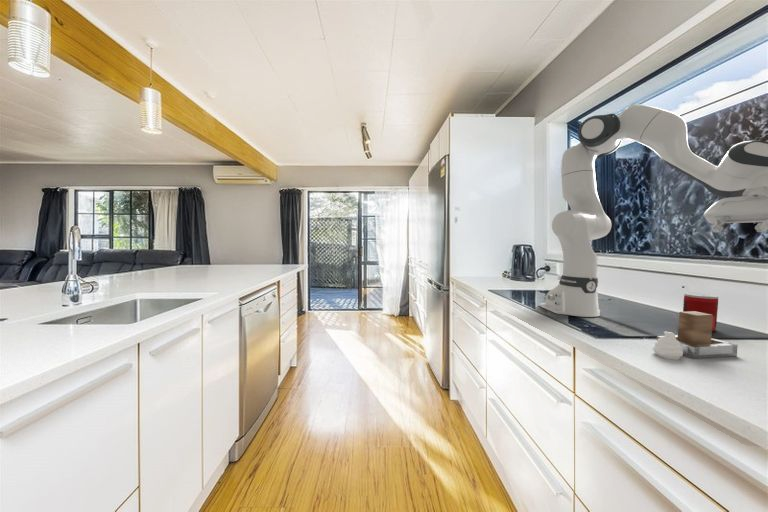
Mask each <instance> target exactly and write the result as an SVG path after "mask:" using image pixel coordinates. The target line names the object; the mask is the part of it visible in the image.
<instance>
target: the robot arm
mask: <svg viewBox="0 0 768 512" xmlns="http://www.w3.org/2000/svg"><path fill="white" fill-rule="evenodd" d="M687 125H688V124H687V123H686V120H685V119H684V117H682V116H680V115H679V114H677V113H675V112H673V111H669V110H666V109H663V108H659V107H656V106H650V105H645V104H639V103H638V104H637V103H636V104H632V105H631V104H630V105H628V106H627V107H625V108H624V109H622V111H621V112H620V114H619V115H616V114H615V113H609V114H597V115H593V116H590V117H587V118H585V120H583V121H582V122H581V124H580V125H579V127H578V130H577V137H578V140H579V143H578V144H576V145H574V146H573V145H572V146H571V147H568V148H567V149H566V150H564V151H563V154H562V159H561V165H560V166H561V167H560V169H561V170H560V171H561V175H560V176H561V188H562V189H561V190H562V197H563V199H564V201H565V202H566V203H567V204H568V206H569V208H570V210H569V209H568V210H564V211H561V212H559V213H557V214H556V215H555V216H554V217H553V219H552V220H551V230H552V233H554V235H555V236H556V237H557V239H558V241H559V243H560V246H561V251H562V255H563V256H562V257H563V258H562V260H563V261H562V263H563V264H562V265H563V266H562V267H563V268H562V275H560V277H558V280H559V282H558V285H556V286H555V287H553V288H552V289H550V290H549V291H548V292H547V293H546V295H545V296H546V297H545V302H541V303H538V306H539V307H540V308H543V309H545V310H547V311H549V312H552V313H554V314H557V315H565V316H566V315H567V316H575V317H585V318H594V317H595V318H596V317H600V316H601V315H600V313H601V309H600V308H599V298H598V297H599V296H598V295H599V294H598V291H597V288H598V286H599V285H598V284H599V280H598V279H599V278H598V276H597V273H598V256H597V253H596V252H595V251H594V249H593V246H592V242H591V241H593V240H598V239H601V238H604V237H606V236H607V235H608V234H609V233H610V232H611V229H612V226H613V225H612V220H611V219H610V217H609V216H608V215H607V214H606V212H605V211H604V208H603V205H602V202H601V201H600V198H599V194H598V190H597V180H596V167H595V166H596V165H595V161H596V160H599V159H601V158H604V157H605V156H607V155H609V154H612V153H614V152H615V151H617V150H618V149H619V148H620V146H621V144H622V142H623V140H632V141H635V142H637V143H639V144H642V145H643V146H646V147H647V148H649V149H650V150H652V151H654V153H655V154H656V155H657V156H658V157H659V158H660V159H661V160H662V162H664V163H665V164H667V165H668V166H669V167H671V168H673V169H675V170H676V171H678V172H680V173H682V174H684V175H686V176H687V177H689V178H691V179H693V180H694V181H696V182H698V183H699V184H700V185H702V187H704V188H705V189H706V190H707V191H708V192H710V193H711V194H712V195H715V196H716V197H719V198H721V199H719V200H718V201H716V202H715V203H713V204H712V205H711V206H709V208H708V209H706V210H705V211H704V213H703V217H704V219H705V220H706V222H707V223H709V224H712V226H711V231H712V233H721V232H722V231H723V230H724V229H725V228H724V227H723V226H722V225H725V224H741V223H742V224H743V223H744V224H745V223H757V224H756V225H755V226H754V229H755V230H756V232H757V233H765V232H767V231H768V142H767V141H763V140H752V139H751V140H745V141H741V142H738V143H735V144H733V145H732V146H731V147H730V148H729V150H728V151H727V152H726V154H725V155H724V156H723V158H722V159H721V161H720V163H719V164H718V165H715V164H713V163H711V162H710V161H707V160H706V159H704V158H702V157H700V156H698V155H697V154H695V153H694V152H692V150H691V148H690V146H689V141H688V126H687Z"/></svg>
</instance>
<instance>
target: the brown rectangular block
mask: <svg viewBox="0 0 768 512" xmlns="http://www.w3.org/2000/svg"><path fill="white" fill-rule="evenodd" d="M712 322H713V315H711V314H706V313H701V312H696V311H688V312H683V311H679V313H678V326H677V327H678V328H677V330H678V331H677V335H678V341H681V342H684V343H688V344H691V345H702V344H711V338H712V336H713V335H712V334H713V333H712V332H713V331H712Z"/></svg>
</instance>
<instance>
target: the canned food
mask: <svg viewBox="0 0 768 512" xmlns="http://www.w3.org/2000/svg"><path fill="white" fill-rule="evenodd" d="M682 305H683V306H682V307H683V310H682V312H688V311H696V312H701V313H706V314H711V315H713V322H712V332H715V331H716V329H717V320H718V310H719V309H718V308H719V296H718V295H715V294H710V293H702V292H701V293H700V292H699V293H698V292H685V293H684V295H683V304H682Z"/></svg>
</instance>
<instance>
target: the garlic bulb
mask: <svg viewBox="0 0 768 512" xmlns="http://www.w3.org/2000/svg"><path fill="white" fill-rule="evenodd" d="M663 334H664V335H660V336H661V337H660V338H659V339H658V340H657V339H656V342H655V343H654V346H653V347H652V350H653V352H654V354H656V356H658V357H661V358H663V359H669V360H679V359H681V357H683V356H684V355H683V351H682V350H683V348H682V346H680V343H679V341H678V340H676V336H675V335H676V334H675V333H674V332H672V331H670V332H669V331H663Z"/></svg>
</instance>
